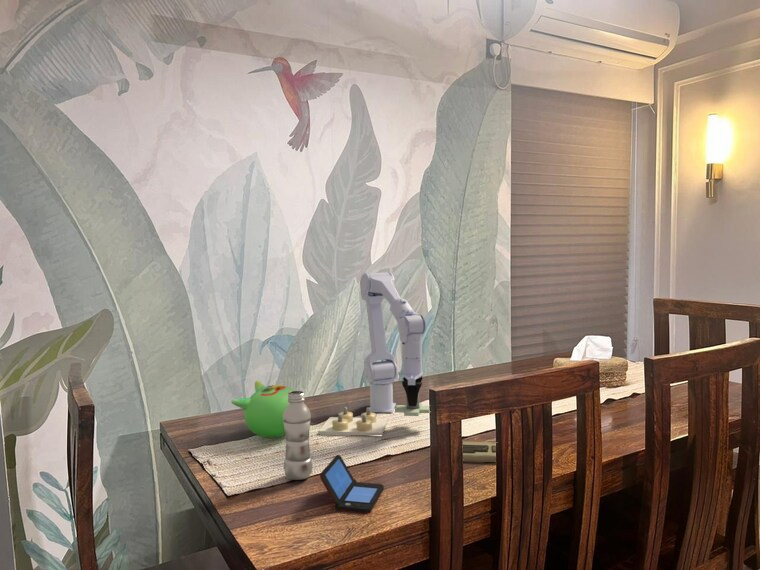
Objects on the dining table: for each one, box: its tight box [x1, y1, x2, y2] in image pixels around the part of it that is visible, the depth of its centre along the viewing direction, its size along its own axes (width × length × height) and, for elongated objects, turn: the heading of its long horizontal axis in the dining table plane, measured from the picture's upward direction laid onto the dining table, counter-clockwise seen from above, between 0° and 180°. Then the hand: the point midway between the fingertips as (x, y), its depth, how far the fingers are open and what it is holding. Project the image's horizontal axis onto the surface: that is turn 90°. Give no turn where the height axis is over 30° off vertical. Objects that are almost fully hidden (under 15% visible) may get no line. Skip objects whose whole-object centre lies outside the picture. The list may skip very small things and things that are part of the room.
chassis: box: [318, 406, 390, 436], centre depth 167 cm, size 13×18×5 cm
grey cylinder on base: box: [394, 392, 430, 417], centre depth 165 cm, size 10×10×6 cm
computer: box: [463, 441, 497, 463], centre depth 144 cm, size 16×8×3 cm, turn 80°
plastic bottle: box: [283, 390, 314, 481], centre depth 132 cm, size 6×7×20 cm
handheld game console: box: [319, 454, 385, 514], centre depth 122 cm, size 12×11×7 cm
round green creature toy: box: [231, 380, 295, 439], centre depth 162 cm, size 18×17×15 cm
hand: (412, 403), depth 165 cm, fingers closed on grey cylinder on base, 4 cm apart
